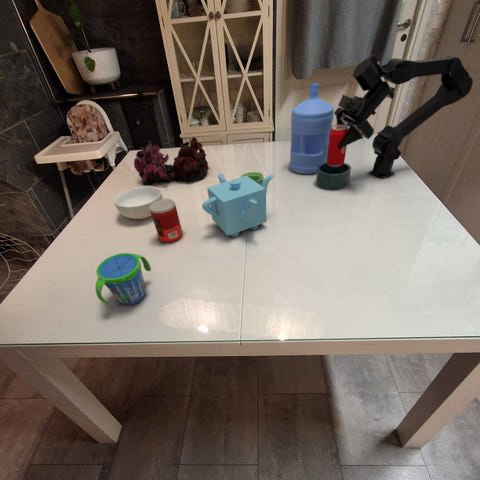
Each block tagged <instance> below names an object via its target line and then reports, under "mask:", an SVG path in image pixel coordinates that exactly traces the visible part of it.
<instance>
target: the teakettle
mask: <svg viewBox="0 0 480 480" xmlns="http://www.w3.org/2000/svg"><path fill="white" fill-rule="evenodd" d="M217 177H218V179H219V183H218V184H214V185H211V186H209V187H206V190H207V195H208V199H206V200H204V201H203V202H202V204H201V208H202V209H203V211H204V212H206V213H207V214H209V215H211V220H212V221H213V222H214V223H215V224H216V225H217V227H219V228H220V229H221V230H222V231H223V233H224V234H225V235H226V236H230V237H232V238H233V237H238V236H240V232H242V231H245V230H248V229H250V230H258V229H259V225H261V224H264V223H267V193H268V192H267V191H268V185H269V183H270V181H271V180H272V179H273V178H274V177H275V174H269V175H266V176H264V179H263V182H262V184H261V185H259V184H258V183H257V182H255V181H254V180H252V179H251V178H249V177H248V176H244V177H241V176H240V177H238V178H234V179H230V180H228V181H227V180H226V177H225V175H223V174H222V173H217Z"/></svg>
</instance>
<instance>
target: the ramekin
mask: <svg viewBox="0 0 480 480" xmlns="http://www.w3.org/2000/svg"><path fill="white" fill-rule="evenodd" d="M244 176H248V177H249V178H251V179H252V180H254V181H255V182H257V183H258V184H259V185H261V184H262V182H263V180H264V179H265V175H264V174H263V173H262V172H259V171H249V172H245V173H243V174H241V176H240V178H241V177H244Z"/></svg>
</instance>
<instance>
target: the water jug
mask: <svg viewBox="0 0 480 480" xmlns="http://www.w3.org/2000/svg"><path fill="white" fill-rule="evenodd" d="M319 86H320V83H318V82H313V83H310V84H309V96H308V98H307V99H306V100H304V101H302V102H300V103H299V104H296V105H295V106H294V107H293V108H292V110H291V116H290V131H291V135H290V136H291V137H290V139H291V140H290V149H289V150H290V152H289V153H290V155H289V168H290V170H291V171H293V172H294V173H296V174H301V175H313V174H317V167H318V166H319V165H321V164H323V163H326V162H327V153H328V144H329V135H330V131H331V129H332V126H333V121H334V116H335V114H334V112H335V107H334V105H332V104H331V103H329V102H327V101H325V100H323V99H321V98H320V97H319V90H320V89H319Z"/></svg>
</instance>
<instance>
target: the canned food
mask: <svg viewBox="0 0 480 480" xmlns="http://www.w3.org/2000/svg"><path fill="white" fill-rule="evenodd" d="M149 209H150V212H151V215H152V216H151V218H152V221H153V225H154V228H155V230H156V233H157V236H158V239H159V240H160V242H162V243H166V244H170V243H175V242H177V241H179V240H180V239H181V238H182V236H183V229H182V225H181V221H180V217H179V213H178V209H177V206H176V202H175V201H174V199H171V198H162V200H158V201H155V202H154V203H152V204H151V205H150V207H149Z"/></svg>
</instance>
